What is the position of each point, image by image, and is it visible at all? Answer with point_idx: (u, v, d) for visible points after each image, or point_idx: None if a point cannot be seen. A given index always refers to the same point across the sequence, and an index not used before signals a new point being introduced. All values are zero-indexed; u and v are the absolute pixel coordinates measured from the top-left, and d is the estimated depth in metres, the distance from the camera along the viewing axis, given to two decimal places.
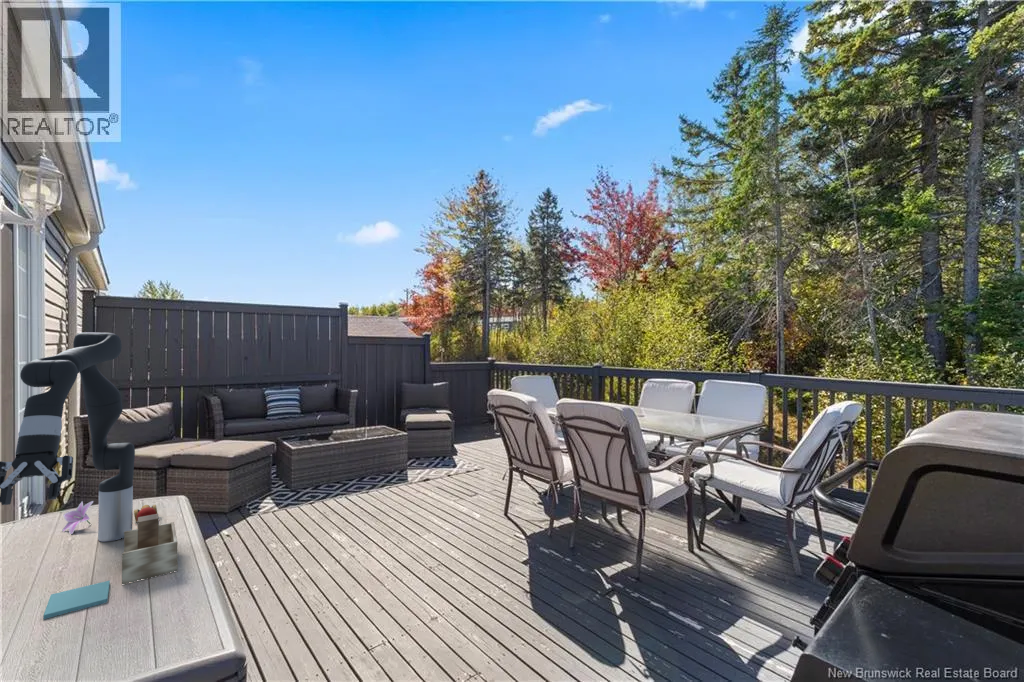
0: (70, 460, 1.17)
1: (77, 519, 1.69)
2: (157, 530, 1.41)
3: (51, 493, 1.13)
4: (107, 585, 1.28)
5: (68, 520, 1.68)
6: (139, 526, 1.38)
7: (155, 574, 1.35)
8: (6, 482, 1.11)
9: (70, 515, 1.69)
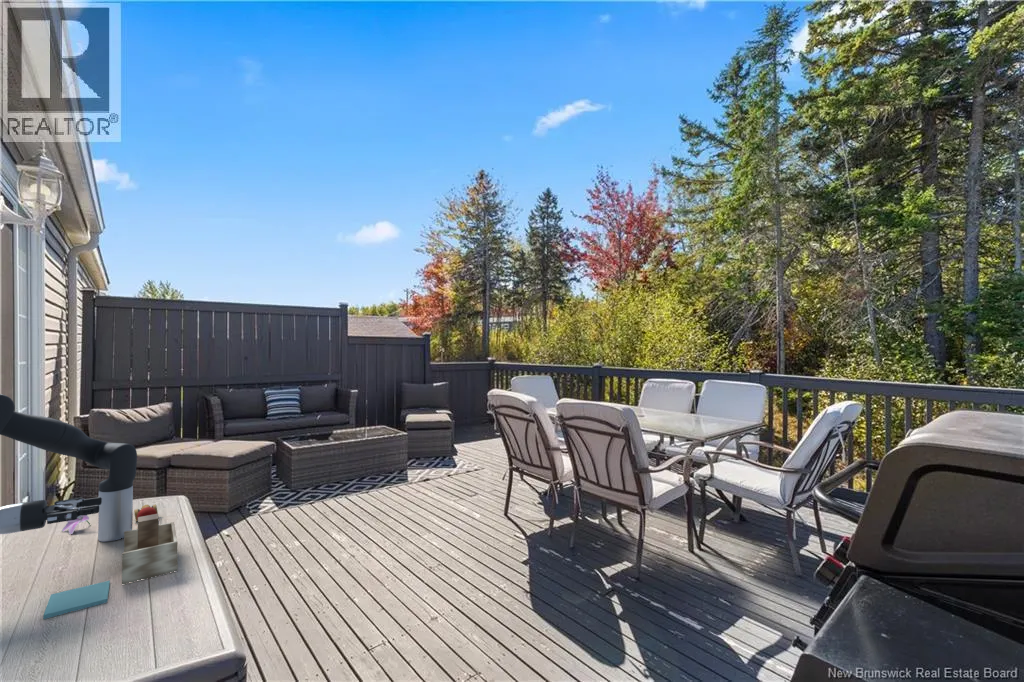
0: (53, 519, 1.24)
1: (77, 519, 1.69)
2: (157, 530, 1.41)
3: (92, 513, 1.30)
4: (107, 585, 1.28)
5: None
6: (139, 526, 1.38)
7: (155, 574, 1.35)
8: None
9: None
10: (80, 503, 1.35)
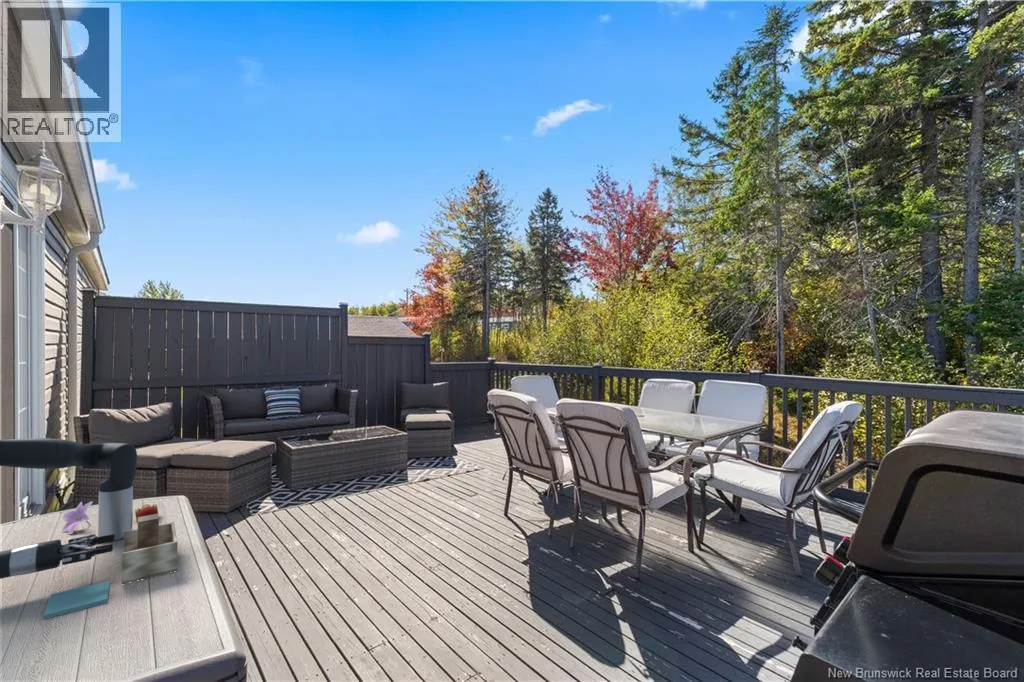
0: (68, 560, 1.26)
1: (77, 519, 1.69)
2: (157, 530, 1.41)
3: (106, 552, 1.32)
4: (107, 585, 1.28)
5: (67, 520, 1.68)
6: (139, 526, 1.38)
7: (155, 574, 1.35)
8: None
9: (70, 516, 1.69)
10: (93, 540, 1.37)
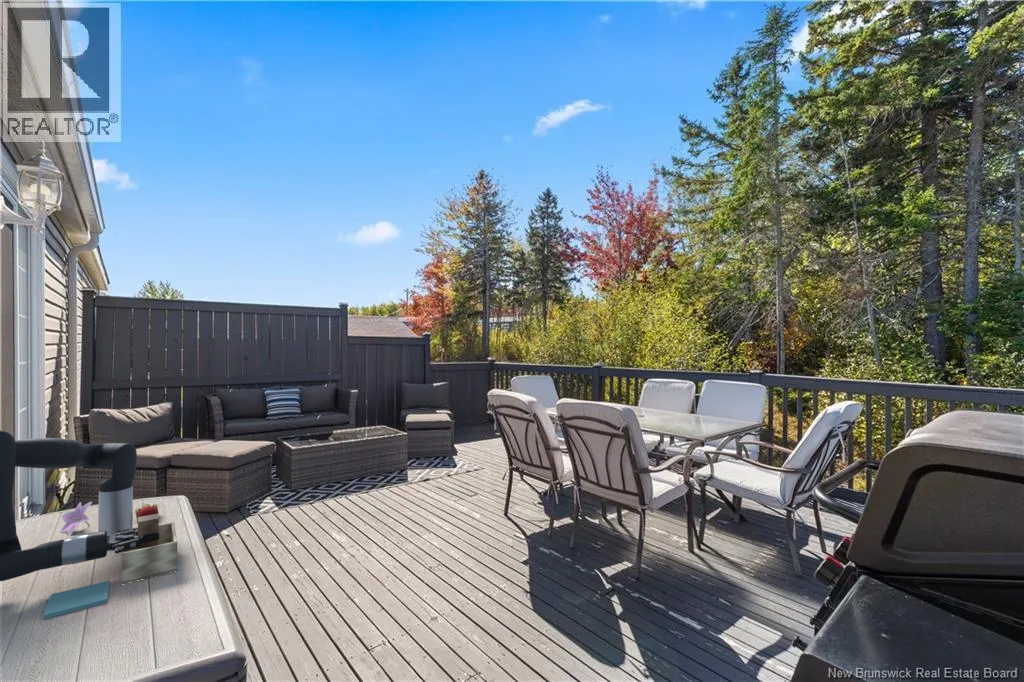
0: (121, 549, 1.33)
1: (76, 520, 1.69)
2: (157, 530, 1.41)
3: (153, 540, 1.40)
4: (107, 585, 1.28)
5: (66, 521, 1.68)
6: (139, 526, 1.38)
7: (155, 574, 1.35)
8: None
9: (69, 516, 1.69)
10: None
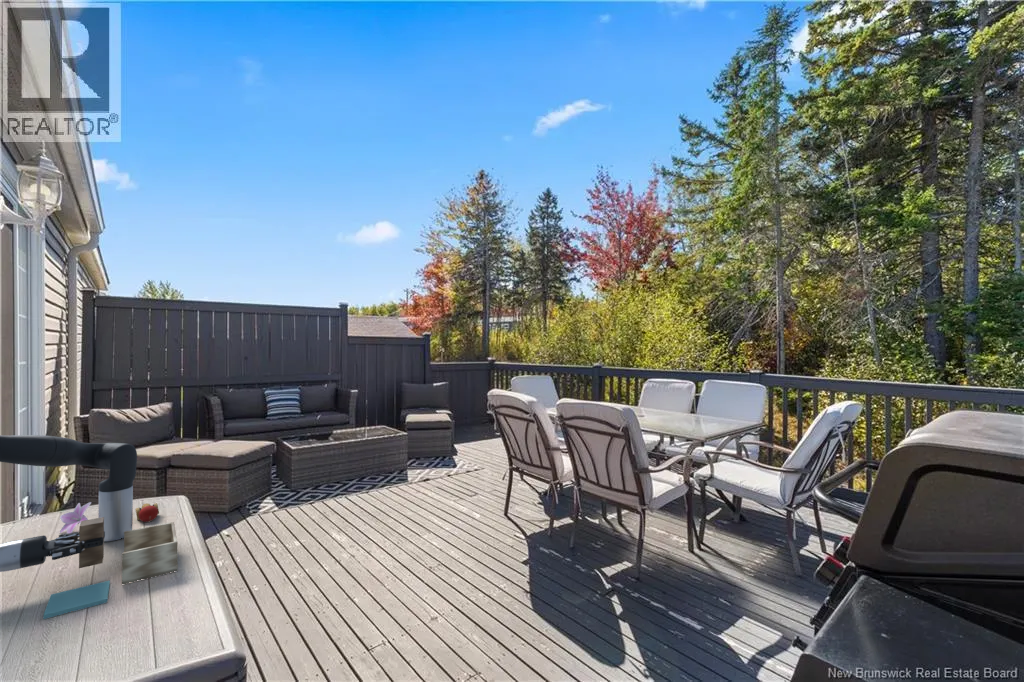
0: (59, 555, 1.25)
1: (75, 520, 1.68)
2: (101, 535, 1.33)
3: (97, 545, 1.32)
4: (107, 585, 1.28)
5: (65, 521, 1.67)
6: (81, 531, 1.30)
7: (155, 574, 1.35)
8: None
9: (68, 517, 1.68)
10: None
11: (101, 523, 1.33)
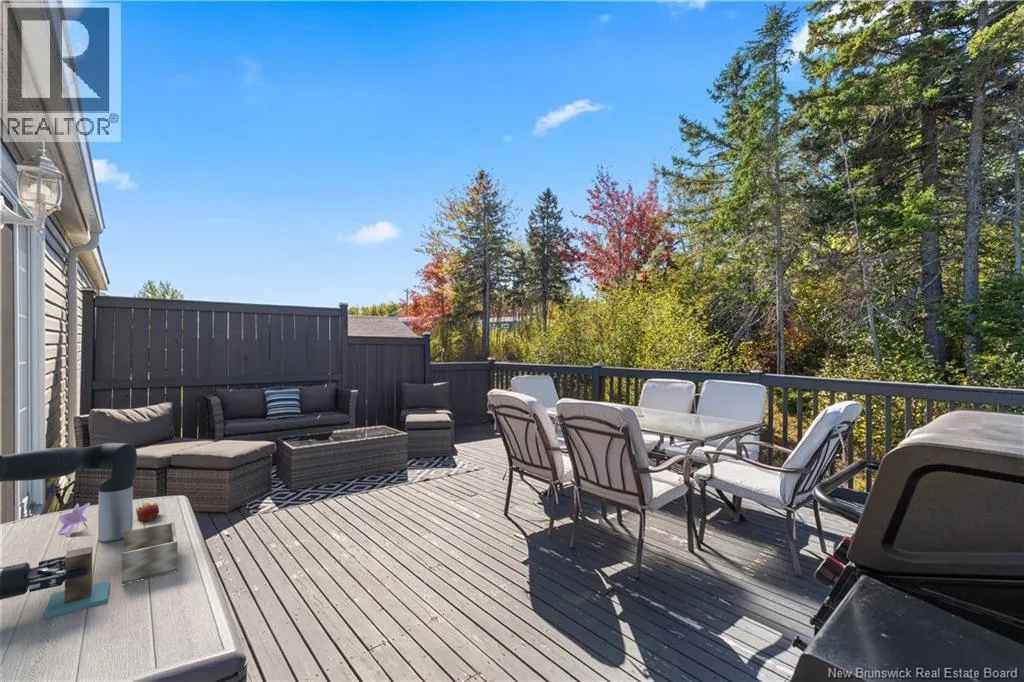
0: (36, 587, 1.13)
1: (73, 521, 1.67)
2: (89, 566, 1.22)
3: (80, 576, 1.20)
4: (107, 585, 1.28)
5: (64, 522, 1.66)
6: (67, 563, 1.19)
7: (155, 574, 1.35)
8: None
9: (66, 517, 1.67)
10: None
11: (89, 554, 1.22)
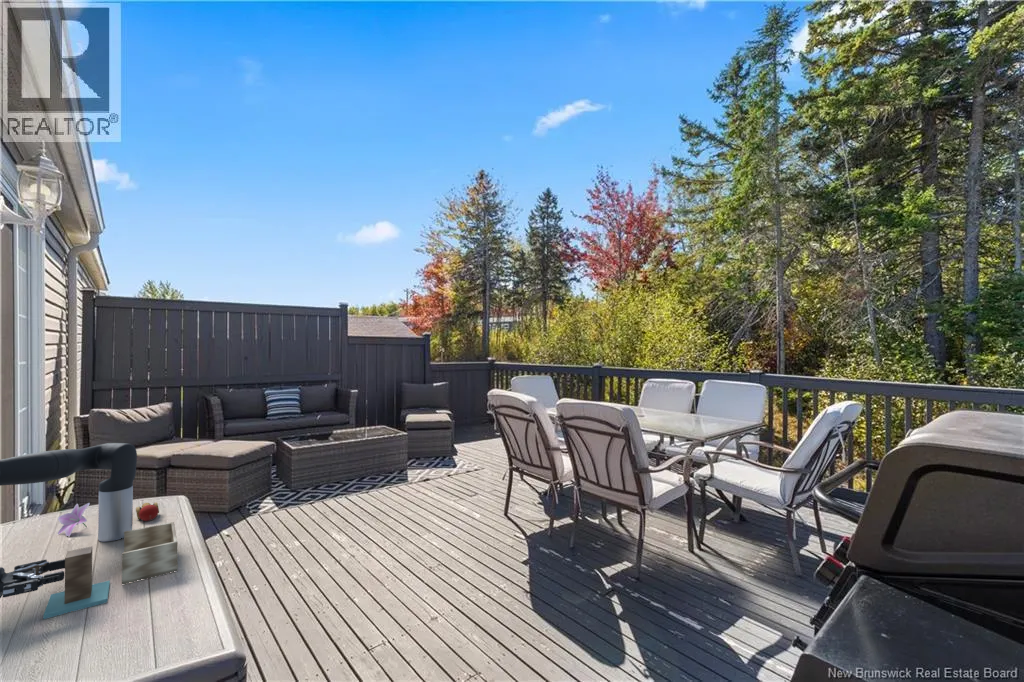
0: (10, 592, 1.10)
1: (73, 521, 1.67)
2: (89, 566, 1.22)
3: (56, 581, 1.17)
4: (107, 585, 1.28)
5: (63, 523, 1.66)
6: (67, 563, 1.19)
7: (155, 574, 1.35)
8: None
9: (66, 518, 1.67)
10: (44, 567, 1.21)
11: (89, 554, 1.22)
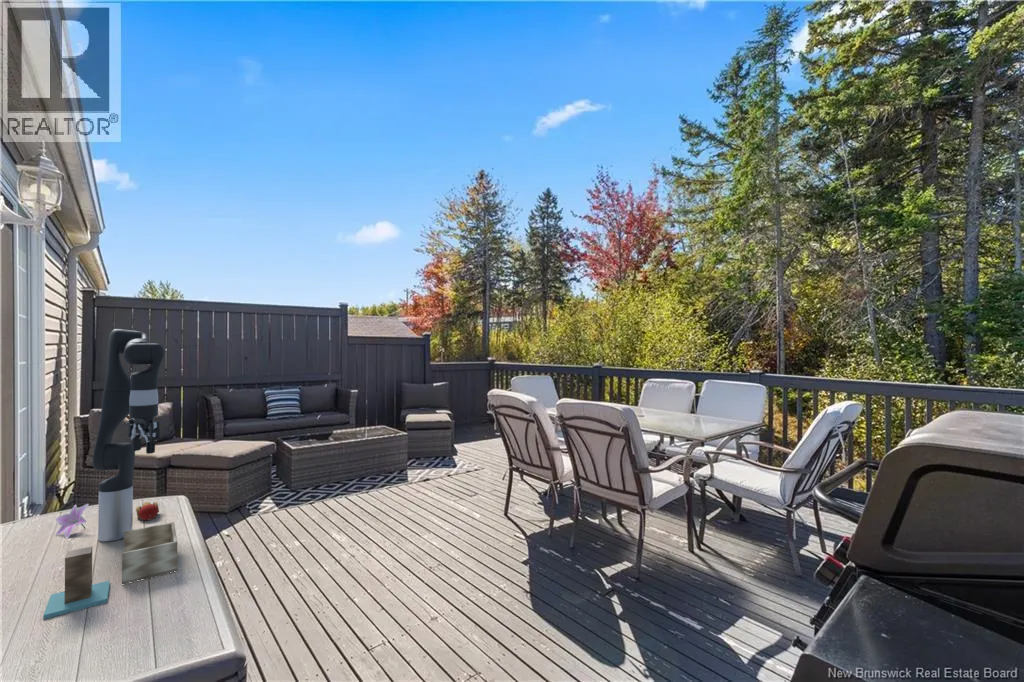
0: (154, 426, 1.48)
1: (71, 522, 1.66)
2: (89, 566, 1.22)
3: (147, 449, 1.49)
4: (107, 585, 1.28)
5: (62, 524, 1.65)
6: (67, 563, 1.19)
7: (155, 574, 1.35)
8: (132, 435, 1.52)
9: (64, 519, 1.66)
10: (137, 436, 1.53)
11: (89, 554, 1.22)
